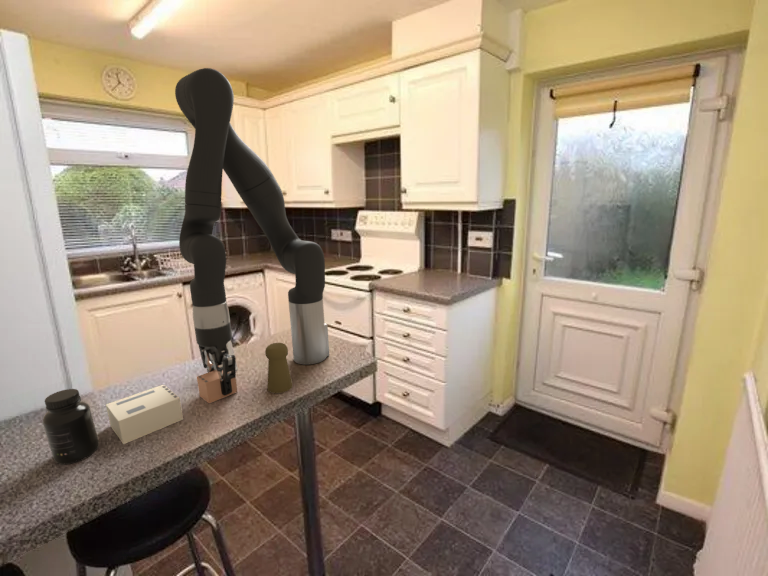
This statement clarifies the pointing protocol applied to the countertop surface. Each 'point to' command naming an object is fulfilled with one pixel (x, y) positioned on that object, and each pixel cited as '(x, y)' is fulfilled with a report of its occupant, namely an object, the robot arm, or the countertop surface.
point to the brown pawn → (278, 368)
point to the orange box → (213, 386)
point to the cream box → (144, 413)
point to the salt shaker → (230, 351)
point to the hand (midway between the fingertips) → (221, 389)
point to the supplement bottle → (69, 427)
